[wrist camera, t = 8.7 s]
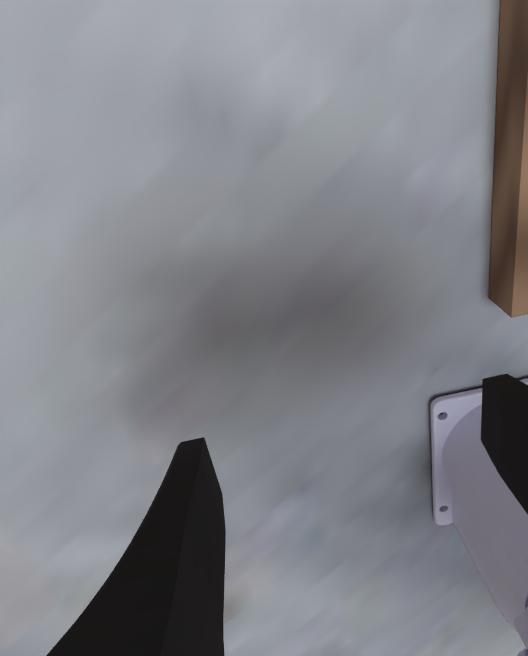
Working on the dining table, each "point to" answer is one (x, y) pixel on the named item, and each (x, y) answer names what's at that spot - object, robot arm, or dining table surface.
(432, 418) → the robot arm
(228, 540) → the dining table surface
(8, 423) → the dining table surface
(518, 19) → the brown wooden frame
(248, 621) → the dining table surface
